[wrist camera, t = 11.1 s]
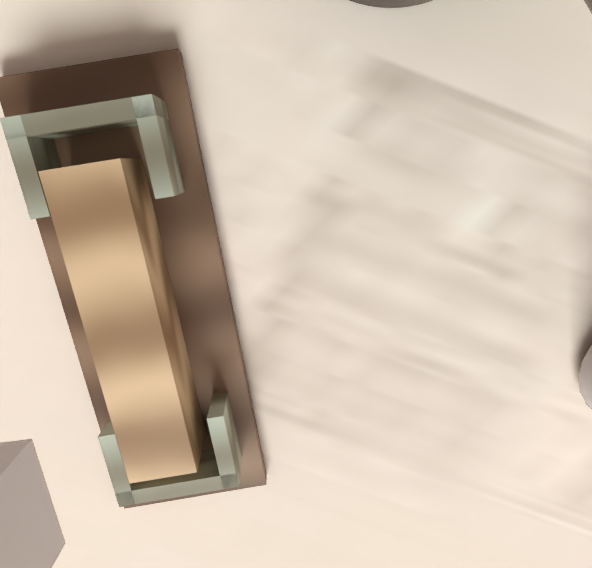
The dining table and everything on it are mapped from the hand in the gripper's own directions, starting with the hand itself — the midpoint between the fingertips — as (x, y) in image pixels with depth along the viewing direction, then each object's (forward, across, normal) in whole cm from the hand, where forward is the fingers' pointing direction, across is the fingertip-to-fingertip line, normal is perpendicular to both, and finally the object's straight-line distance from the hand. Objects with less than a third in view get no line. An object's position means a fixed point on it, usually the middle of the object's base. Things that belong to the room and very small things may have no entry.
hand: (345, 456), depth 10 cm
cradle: (+20, -10, -2) cm, 22 cm away
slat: (+19, -10, -2) cm, 22 cm away
